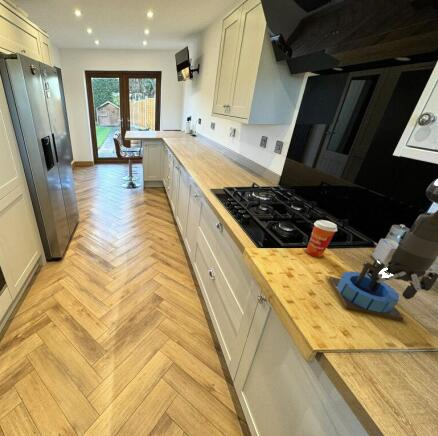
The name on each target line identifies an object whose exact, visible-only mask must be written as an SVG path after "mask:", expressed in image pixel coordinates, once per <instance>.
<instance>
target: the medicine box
mask: <svg viewBox="0 0 438 436" xmlns="http://www.w3.org/2000/svg"><path fill="white" fill-rule="evenodd" d="M399 244H400V243H398V242H397V241H396V240H393V239H388V238H380V239H379V241H378V243H377V245H376V247H375V248H374V250H373V252H372V254H371V256H372V257H373V259H374V261H375V260H377V259H379V260H380V261H381V262H385V263H388V262H390V261H391V259H392V255H393V253H394V252H395V250H396V249H397V247H398V245H399Z"/></svg>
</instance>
